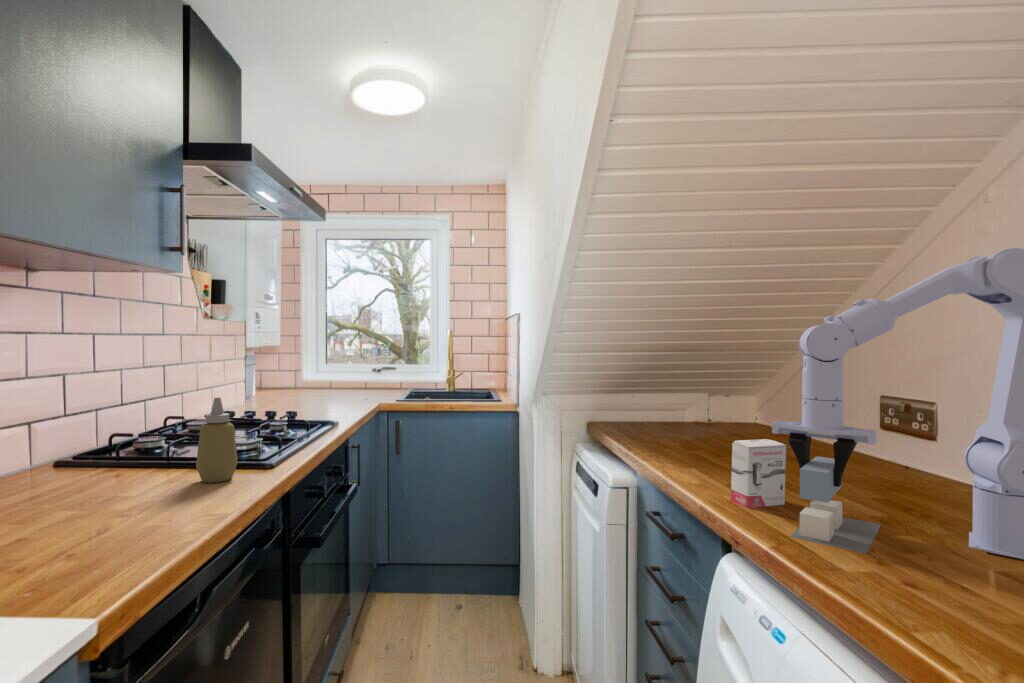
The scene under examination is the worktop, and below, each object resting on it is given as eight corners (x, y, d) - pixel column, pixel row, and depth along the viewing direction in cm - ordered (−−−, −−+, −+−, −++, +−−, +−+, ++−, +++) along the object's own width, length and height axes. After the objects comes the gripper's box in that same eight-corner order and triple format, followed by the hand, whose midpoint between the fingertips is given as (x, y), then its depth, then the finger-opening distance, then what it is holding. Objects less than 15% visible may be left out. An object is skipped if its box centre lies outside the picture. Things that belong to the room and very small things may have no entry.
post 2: (834, 534, 83) (834, 512, 83) (828, 541, 80) (828, 518, 80) (805, 528, 86) (805, 507, 86) (799, 535, 83) (799, 513, 83)
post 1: (842, 523, 88) (842, 502, 88) (837, 529, 85) (837, 507, 85) (815, 517, 91) (815, 497, 91) (809, 523, 88) (810, 502, 88)
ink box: (748, 511, 96) (748, 445, 96) (729, 502, 100) (730, 440, 100) (787, 506, 98) (787, 443, 98) (767, 499, 103) (767, 438, 103)
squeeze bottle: (201, 476, 118) (201, 396, 118) (241, 474, 120) (241, 395, 120) (191, 486, 110) (191, 400, 110) (234, 483, 113) (234, 399, 113)
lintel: (841, 486, 89) (842, 459, 89) (827, 502, 80) (827, 472, 80) (816, 482, 91) (816, 456, 91) (799, 497, 82) (799, 468, 82)
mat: (881, 527, 88) (881, 524, 88) (866, 556, 75) (866, 553, 75) (813, 513, 94) (813, 511, 94) (789, 538, 82) (789, 536, 82)
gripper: (879, 400, 84) (879, 486, 84) (780, 393, 93) (779, 470, 93) (873, 404, 78) (872, 495, 78) (768, 397, 88) (768, 478, 88)
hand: (821, 482), depth 85 cm, fingers closed on lintel, 4 cm apart
